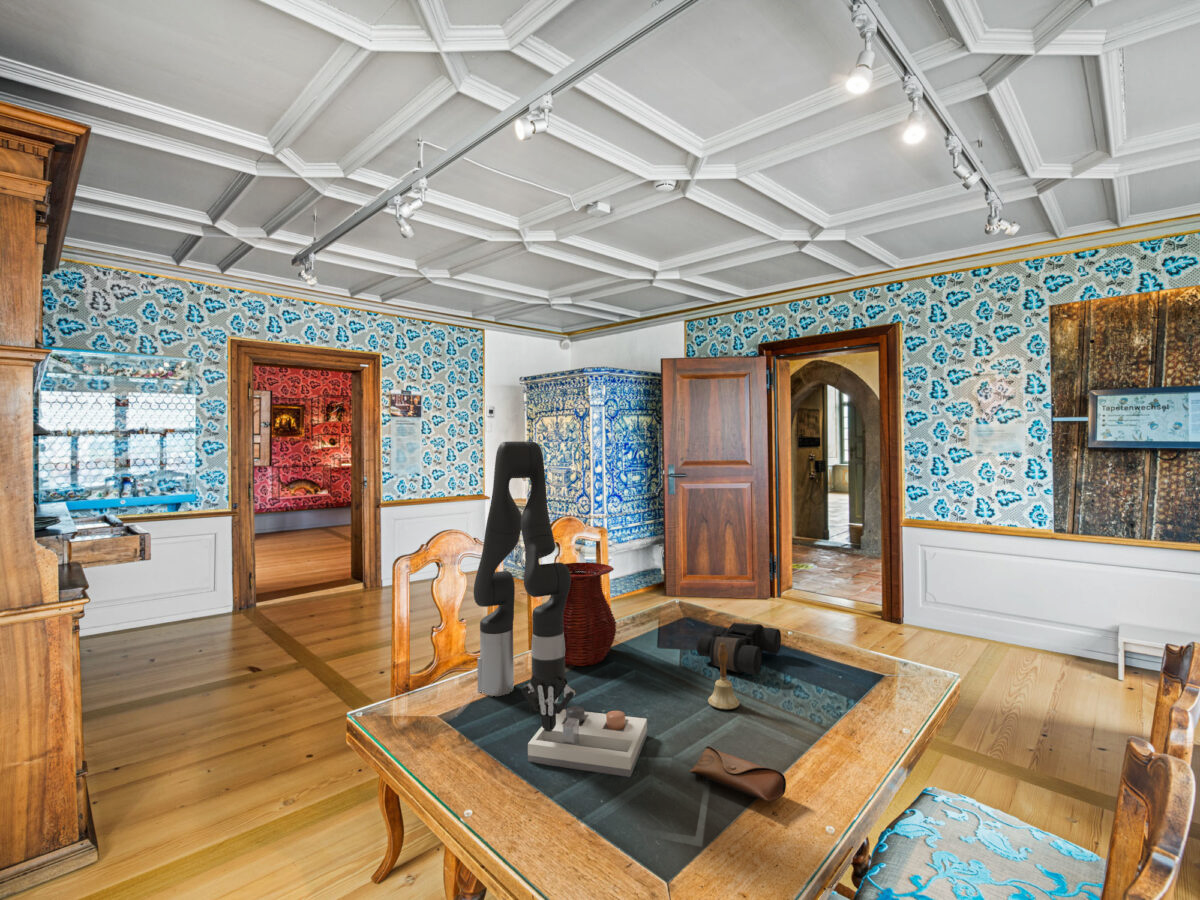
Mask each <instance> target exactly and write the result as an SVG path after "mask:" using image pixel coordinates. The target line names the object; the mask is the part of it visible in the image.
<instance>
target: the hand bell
mask: <svg viewBox="0 0 1200 900" xmlns="http://www.w3.org/2000/svg"><path fill="white" fill-rule="evenodd" d="M718 660H719V664H720V667H719V668H720V669H719V673H720V674H719V676H720V677H719V679H717V680H716V681H715V683H714V688H713V692H712V693H711V695H710V696H709V697H708V699H707V702H708V704H709V705H710V706H712V707H714V708H717V709H720V710H732V709H733V710H734V709H736V708H738V707H739V706H740V701H739V698H737V696H735V693H734V689H733V683H732V681H730V680H728V678H727V669H726V664H727V660H728V654H727V649H726V647H725V643H720V647H719V650H718Z"/></svg>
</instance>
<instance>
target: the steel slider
mask: <svg viewBox="0 0 1200 900" xmlns="http://www.w3.org/2000/svg"><path fill="white" fill-rule="evenodd" d="M563 744H570V745H579V719H575V718H568V719H567V721H566V722H565V724H564V725H563Z"/></svg>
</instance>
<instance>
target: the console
mask: <svg viewBox="0 0 1200 900" xmlns="http://www.w3.org/2000/svg"><path fill="white" fill-rule="evenodd" d="M566 709H567V708H564V709H563V710H562V711H561V713H560V714H556V726H555V727H554V729H553V730H552V731H551V732H547V731H544V728H543V727H542V726H541V727H540V728H539V729H538V730H537V732H535V734H534V735H533V737H532V738H531V739H530V740H529V741H528V743H527V762H529V763H535V764H539V765H540V764H541V765H547V766H553V767H559V768H566V769H574V770H580V771H587V772H595V773H600V774H608V775H613V776H621V777H627V778H631V776H632V774H633V772H634V769H635V767H636V764H637V762H638V759H639V757H640V755H641V752H642V749H643V747H644V745H645V743H646V739H647V737H648V719H647V718H644V717H635V716H626V715H625V728H624V729H622V730H610V729H608V728H607V726H606V714H607V713H603V712H602V713H599V712H592V711H584V720H585V721H584V723H583V724H580V725H579V745H570V744H563V725H564V724H565V722H566Z"/></svg>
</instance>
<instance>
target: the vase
mask: <svg viewBox="0 0 1200 900" xmlns="http://www.w3.org/2000/svg"><path fill="white" fill-rule="evenodd" d="M564 564H565V565H566V566H567V567H568V569H569V571H570V574H571V584H570V589H569V593H568V596H567V600H566V605H565V609H564V614H563V624H564V640H565V665H572V666H577V667H579V666H580V667H583V666H590V665H596V664H598V663H600V662H602V661H604V660H605V657H607V655H608V652H609V653H610V649H611V648H612V646H613V644H614V640H615V639H616V637H615V636H616V633H617V623H618V622H617V621H616V619H615V616H614V614H613V613H612V612H613V611H612V609H611V608H610V605H609V603H608V600H607V599H606V596H605V594H604V592H603V588H602V585H603V584H602V582H601V581H602V577H601V576H603V575H607V574H609V573H611V572H613V571H614V570H615V569H614V567H612V565H609V564H605V563H597V562H596V563H595V562H568V563H567V562H566V563H564Z"/></svg>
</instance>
